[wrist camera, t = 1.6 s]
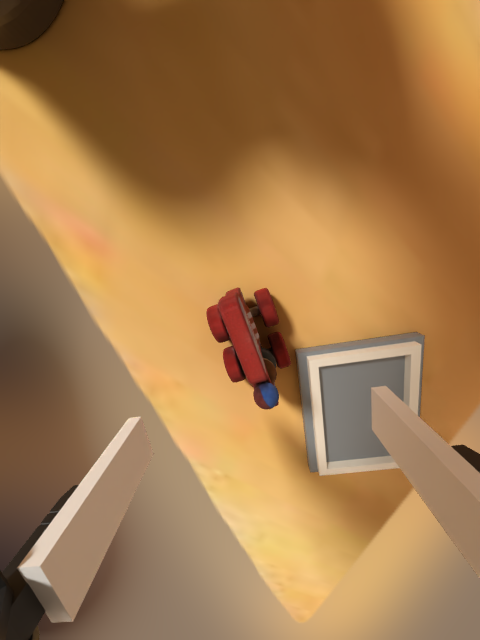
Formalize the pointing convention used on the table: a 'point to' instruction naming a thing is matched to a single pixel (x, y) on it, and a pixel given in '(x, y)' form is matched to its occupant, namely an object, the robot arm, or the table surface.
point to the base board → (354, 398)
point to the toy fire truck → (249, 343)
